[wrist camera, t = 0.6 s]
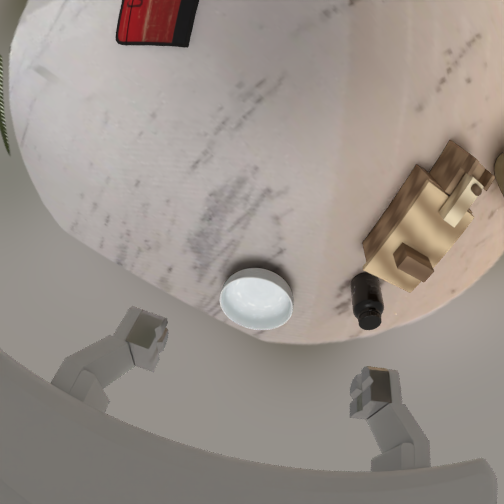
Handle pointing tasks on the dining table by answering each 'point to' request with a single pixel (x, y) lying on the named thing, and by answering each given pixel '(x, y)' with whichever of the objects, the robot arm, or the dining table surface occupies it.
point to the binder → (156, 22)
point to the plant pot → (500, 172)
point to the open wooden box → (441, 175)
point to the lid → (416, 241)
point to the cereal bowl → (257, 299)
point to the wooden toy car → (461, 200)
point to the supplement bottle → (367, 300)
